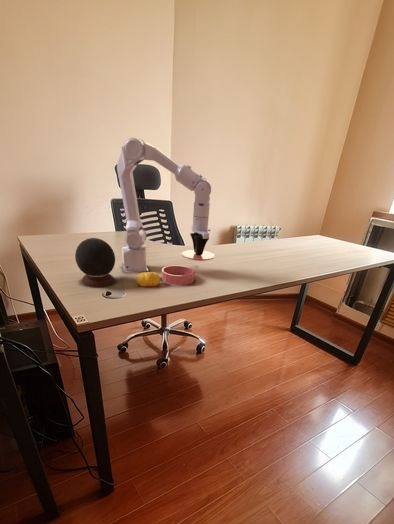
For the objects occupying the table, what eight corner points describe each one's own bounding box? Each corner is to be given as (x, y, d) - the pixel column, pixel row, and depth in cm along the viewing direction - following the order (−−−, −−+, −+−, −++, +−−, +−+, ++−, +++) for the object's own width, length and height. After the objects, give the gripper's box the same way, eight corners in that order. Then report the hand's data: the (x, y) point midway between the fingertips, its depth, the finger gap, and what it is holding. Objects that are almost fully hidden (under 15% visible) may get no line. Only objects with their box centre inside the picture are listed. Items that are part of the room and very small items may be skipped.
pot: (165, 287, 109) (166, 276, 107) (158, 275, 119) (158, 265, 117) (197, 285, 113) (198, 275, 111) (188, 274, 123) (188, 264, 121)
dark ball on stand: (119, 286, 107) (115, 243, 99) (79, 289, 102) (72, 243, 94) (114, 274, 117) (111, 233, 109) (78, 276, 113) (72, 234, 105)
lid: (187, 262, 113) (188, 245, 110) (177, 252, 123) (178, 237, 120) (219, 261, 117) (221, 245, 114) (207, 252, 127) (209, 237, 124)
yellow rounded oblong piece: (138, 289, 106) (137, 276, 103) (136, 283, 110) (135, 270, 107) (163, 288, 109) (163, 274, 106) (160, 282, 113) (160, 269, 110)
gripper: (218, 220, 107) (214, 258, 115) (204, 213, 119) (201, 248, 126) (199, 220, 105) (196, 259, 113) (187, 212, 117) (185, 248, 124)
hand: (198, 253), depth 119 cm, fingers closed on lid, 2 cm apart
